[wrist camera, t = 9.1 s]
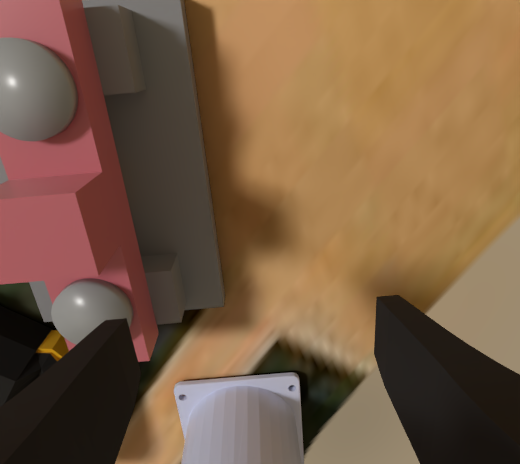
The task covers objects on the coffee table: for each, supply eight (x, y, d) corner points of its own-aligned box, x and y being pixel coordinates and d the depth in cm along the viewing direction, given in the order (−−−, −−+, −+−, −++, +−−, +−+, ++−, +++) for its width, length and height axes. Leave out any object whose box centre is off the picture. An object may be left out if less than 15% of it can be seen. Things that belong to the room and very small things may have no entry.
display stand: (225, 294, 23) (221, 327, 20) (53, 309, 23) (27, 343, 20) (183, -5, 17) (170, -17, 14) (-50, 17, 17) (-108, 8, 14)
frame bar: (158, 333, 20) (135, 404, 16) (90, 339, 20) (49, 411, 16) (80, -7, 14) (9, -35, 10) (-18, 1, 14) (-128, -23, 10)
